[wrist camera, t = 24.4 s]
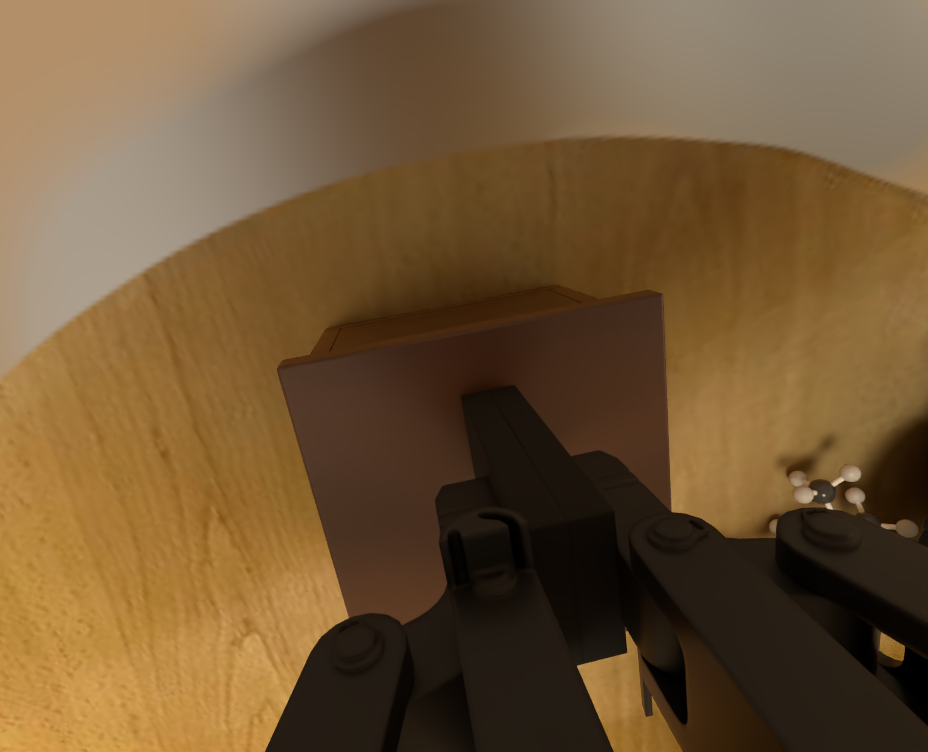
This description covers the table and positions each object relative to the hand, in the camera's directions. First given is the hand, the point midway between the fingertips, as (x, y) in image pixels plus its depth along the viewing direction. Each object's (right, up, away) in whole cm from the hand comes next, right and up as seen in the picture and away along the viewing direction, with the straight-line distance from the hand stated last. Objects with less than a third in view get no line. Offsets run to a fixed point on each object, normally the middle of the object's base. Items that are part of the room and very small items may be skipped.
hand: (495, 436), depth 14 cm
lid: (0, -2, +2) cm, 3 cm away
